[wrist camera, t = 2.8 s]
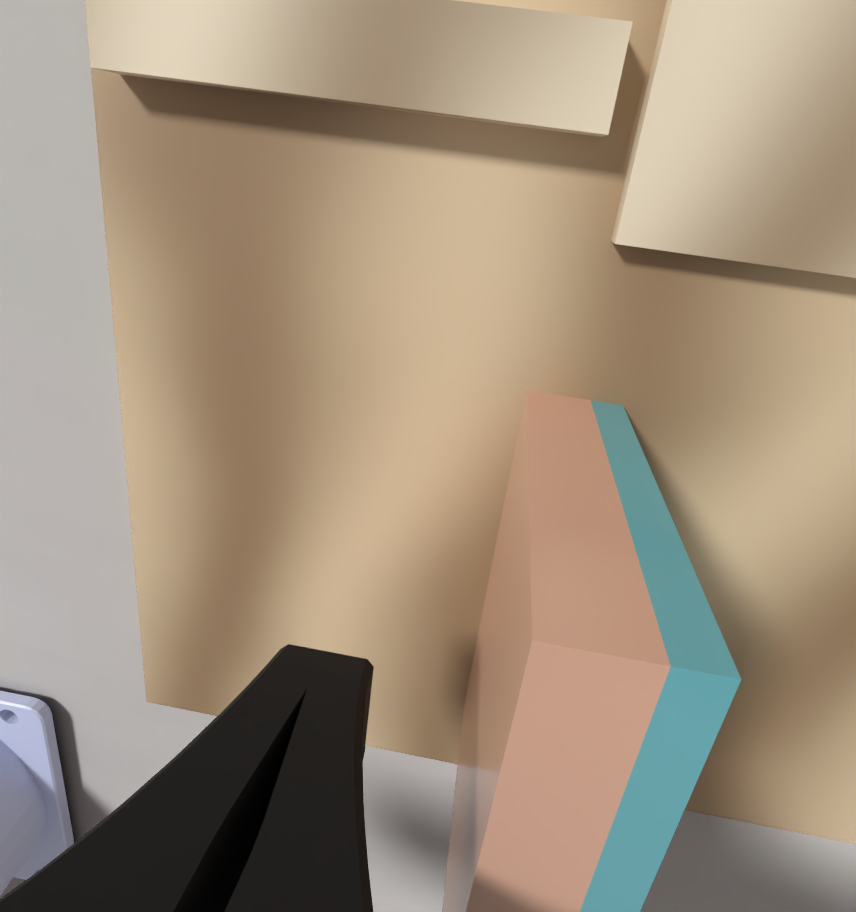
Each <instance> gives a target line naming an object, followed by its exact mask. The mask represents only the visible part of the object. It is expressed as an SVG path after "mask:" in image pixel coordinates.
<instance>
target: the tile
mask: <svg viewBox="0 0 856 912" xmlns="http://www.w3.org/2000/svg"><path fill="white" fill-rule="evenodd" d="M740 682H741V678H740V675H739V673H738V671H737V668H736V666H735V664H734V661H733V659H732V657H731V654H730V652H729V650H728V647H727V645H726V643H725V640H724V638H723V636H722V633H721V631H720V629H719V627H718V624H717V622H716V620H715V617H714V615H713V613H712V610H711V608H710V606H709V603H708V601H707V599H706V596H705V594H704V592H703V589H702V587H701V585H700V582H699V580H698V578H697V576H696V573H695V571H694V569H693V566H692V564H691V562H690V559H689V557H688V555H687V552H686V550H685V548H684V545H683V543H682V541H681V538H680V536H679V534H678V532H677V529H676V527H675V525H674V522H673V520H672V518H671V515H670V513H669V511H668V508H667V506H666V504H665V501H664V499H663V497H662V494H661V492H660V490H659V487H658V485H657V483H656V481H655V478H654V476H653V474H652V471H651V469H650V467H649V464H648V462H647V460H646V457H645V455H644V453H643V450H642V448H641V446H640V443H639V441H638V439H637V437H636V434H635V432H634V430H633V427H632V425H631V423H630V420H629V418H628V416H627V413H626V411H625V409H624V406H623V405H617V404H611V403H605V402H598V401H592V400H586V399H579V398H573V397H567V396H561V395H554V394H548V393H542V392H535V391H529V390H526V393H525V398H524V403H523V408H522V413H521V419H520V424H519V429H518V434H517V439H516V444H515V449H514V454H513V459H512V464H511V469H510V474H509V479H508V484H507V489H506V495H505V500H504V505H503V510H502V515H501V520H500V525H499V530H498V535H497V540H496V545H495V550H494V555H493V560H492V565H491V571H490V576H489V581H488V586H487V591H486V596H485V601H484V606H483V611H482V616H481V621H480V626H479V631H478V636H477V641H476V647H475V652H474V657H473V662H472V667H471V672H470V677H469V682H468V687H467V692H466V697H465V702H464V709H463V719H462V728H461V738H460V747H459V757H458V766H457V775H456V785H455V794H454V804H453V813H452V823H451V832H450V842H449V851H448V860H447V870H446V879H445V889H444V898H443V908H442V912H640V911H641V908H642V906H643V904H644V901H645V899H646V897H647V895H648V892H649V890H650V888H651V885H652V883H653V881H654V878H655V876H656V874H657V872H658V869H659V867H660V865H661V862H662V860H663V858H664V856H665V853H666V851H667V849H668V846H669V844H670V842H671V840H672V837H673V835H674V833H675V830H676V828H677V826H678V824H679V821H680V819H681V817H682V814H683V812H684V810H685V808H686V805H687V803H688V801H689V798H690V796H691V794H692V792H693V789H694V787H695V785H696V782H697V780H698V778H699V775H700V773H701V771H702V769H703V766H704V764H705V762H706V759H707V757H708V755H709V753H710V750H711V748H712V746H713V743H714V741H715V739H716V737H717V734H718V732H719V730H720V727H721V725H722V723H723V721H724V718H725V716H726V714H727V711H728V709H729V707H730V705H731V702H732V700H733V698H734V695H735V693H736V691H737V688H738V686H739V684H740Z"/></svg>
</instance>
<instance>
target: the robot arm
mask: <svg viewBox="0 0 856 912" xmlns="http://www.w3.org/2000/svg"><path fill="white" fill-rule="evenodd" d="M373 669H374V666H373V665H372V664H371V663H370V662H369V660H368V659H365V658H359V657H354V656H349V655H344V654H338V653H333V652H328V651H323V650H317V649H312V648H307V647H301V646H296V645H291V644H288V645H286V646H284V647H283V648H281V649H280V650H279V651H278V652H277V654H276V655H275V656H274V657H273V658H272V659H271V660H270V662H269V663H268V664H267V665H266V666H265V667H264V668H263V669H262V670H261V671H260V673H259V674H258V675H257V676H256V677H255V678H254V679H253V680H252V681H251V682H250V683H249V684H248V686H247V687H246V688H245V689H244V690H243V691H242V692H241V693H240V694H239V695H238V696H237V697H236V698H235V699H234V700H233V701H232V702H231V703H230V704H229V705H228V706H227V707H226V708H225V709H224V710H223V711H222V712H221V713H220V714H219V715H218V716H217V717H216V718H215V719H214V720H213V721H212V722H211V723H210V724H209V725H208V726H207V727H206V728H205V729H204V730H203V731H202V732H201V733H200V734H199V735H198V736H197V737H196V738H195V739H194V740H193V741H192V742H190V743H189V744H188V745H187V746H186V747H185V748H184V749H183V750H182V751H181V752H180V753H179V754H178V755H177V756H176V757H175V758H174V759H172V760H171V761H170V762H169V763H168V764H167V765H166V766H165V767H164V768H162V769H161V770H160V771H159V772H158V773H157V774H156V775H154V776H153V777H152V778H151V779H150V780H149V781H148V782H147V783H145V784H144V785H143V786H142V787H141V788H140V789H139V790H137V791H136V792H135V793H134V794H133V795H132V796H131V797H130V798H128V799H127V800H126V801H125V802H124V803H123V804H122V805H120V806H119V807H118V808H117V809H116V810H115V811H113V812H112V813H111V814H110V815H108V816H107V817H106V818H105V819H104V820H102V821H101V822H100V823H99V824H98V825H96V826H95V827H94V828H93V829H91V830H90V831H89V832H88V833H87V834H85V835H84V836H83V837H82V838H80V839H79V840H78V841H77V842H75V843H74V838H73V832H72V827H71V821H70V815H69V809H68V804H67V798H66V792H65V786H64V781H63V775H62V769H61V763H60V758H59V752H58V746H57V741H56V735H55V729H54V723H53V718H52V713H51V710H50V708H49V706H48V705H47V704H46V703H45V702H43V701H42V700H40V699H37V698H35V697H30V696H25V695H20V694H15V693H10V692H5V691H0V896H1V894H2V893H3V892H4V890H5V889H6V887H7V886H8V885H9V883H10V882H11V880H12V879H13V878H19V879H23V880H26V881H24V882H23V883H21V884H20V885H19V886H17V887H16V888H15V889H13V890H12V891H10V892H9V893H8V894H6V895H5V896H3V897H2V898H1V899H0V912H373V906H372V897H371V889H370V880H369V870H368V859H367V847H366V835H365V822H364V805H363V766H362V762H363V757H364V752H365V743H366V734H367V725H368V716H369V706H370V697H371V688H372V679H373Z"/></svg>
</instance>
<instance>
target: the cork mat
mask: <svg viewBox="0 0 856 912" xmlns="http://www.w3.org/2000/svg"><path fill="white" fill-rule="evenodd" d="M454 1H463V2H471V3H480V4H488V5H497V6H505V7H514V8H522V9H531V10H539V11H548V12H556V13H565V14H573V15H582V16H590V17H599V18H607V19H616V20H624V21H633V23H632V28H631V32H630V37H629V42H628V46H627V51H626V55H625V60H624V65H623V69H622V74H621V79H620V83H619V88H618V92H617V97H616V102H615V106H614V111H613V116H612V120H611V125H610V129H609V134H608V135H607V136H604V137H596V136H589V135H581V134H573V133H566V132H558V131H550V130H543V129H535V128H527V127H520V126H512V125H504V124H497V123H489V122H481V121H474V120H466V119H458V118H451V117H443V116H435V115H428V114H420V113H412V112H405V111H397V110H389V109H382V108H374V107H366V106H359V105H351V104H343V103H336V102H328V101H320V100H313V99H305V98H297V97H290V96H282V95H274V94H267V93H259V92H251V91H244V90H236V89H228V88H221V87H213V86H205V85H198V84H190V83H182V82H175V81H167V80H159V79H152V78H144V77H136V76H129V75H121V74H116V73H112V72H108V71H103V70H99V69H95V68H91V73H92V85H93V96H94V107H95V119H96V130H97V142H98V153H99V164H100V176H101V187H102V199H103V210H104V221H105V233H106V244H107V256H108V267H109V279H110V290H111V301H112V313H113V324H114V336H115V347H116V358H117V370H118V381H119V393H120V404H121V415H122V427H123V438H124V450H125V461H126V472H127V484H128V495H129V507H130V518H131V530H132V541H133V552H134V564H135V575H136V587H137V598H138V609H139V621H140V632H141V644H142V655H143V666H144V678H145V689H146V701H147V702H151V703H155V704H160V705H165V706H170V707H175V708H180V709H185V710H190V711H195V712H200V713H205V714H210V715H215V716H218V715H219V714H220V713H221V712H222V711H223V710H224V709H225V708H226V707H227V706H228V705H229V704H230V703H231V702H232V701H233V700H234V699H235V698H236V697H237V696H238V695H239V694H240V693H241V692H242V691H243V690H244V689H245V688H246V687H247V686H248V684H249V683H250V682H251V681H252V680H253V679H254V678H255V677H256V676H257V675H258V674H259V673H260V671H261V670H262V669H263V668H264V667H265V666H266V665H267V664H268V663H269V662H270V660H271V659H272V658H273V657H274V656H275V655H276V654H277V652H278V651H279V650H280V649H281V648H283V647H284V646H286V645H288V644H291V645H296V646H301V647H307V648H312V649H317V650H323V651H328V652H333V653H338V654H344V655H349V656H354V657H359V658H365V659H368V660H369V662H370V663H371V664H372V665H373V666H374V669H373V679H372V688H371V697H370V706H369V716H368V725H367V734H366V743H365V746H370V747H375V748H380V749H385V750H390V751H395V752H400V753H405V754H410V755H415V756H420V757H425V758H430V759H435V760H440V761H445V762H450V763H455V764H458V757H459V747H460V738H461V728H462V719H463V709H464V702H465V697H466V692H467V687H468V682H469V677H470V672H471V667H472V662H473V657H474V652H475V647H476V641H477V636H478V631H479V626H480V621H481V616H482V611H483V606H484V601H485V596H486V591H487V586H488V581H489V576H490V571H491V565H492V560H493V555H494V550H495V545H496V540H497V535H498V530H499V525H500V520H501V515H502V510H503V505H504V500H505V495H506V489H507V484H508V479H509V474H510V469H511V464H512V459H513V454H514V449H515V444H516V439H517V434H518V429H519V424H520V419H521V413H522V408H523V403H524V398H525V393H526V390H529V391H535V392H542V393H548V394H554V395H561V396H567V397H573V398H579V399H586V400H592V401H598V402H605V403H611V404H617V405H623V406H624V409H625V411H626V413H627V416H628V418H629V420H630V423H631V425H632V427H633V430H634V432H635V434H636V437H637V439H638V441H639V443H640V446H641V448H642V450H643V453H644V455H645V457H646V460H647V462H648V464H649V467H650V469H651V471H652V474H653V476H654V478H655V481H656V483H657V485H658V487H659V490H660V492H661V494H662V497H663V499H664V501H665V504H666V506H667V508H668V511H669V513H670V515H671V518H672V520H673V522H674V525H675V527H676V529H677V532H678V534H679V536H680V538H681V541H682V543H683V545H684V548H685V550H686V552H687V555H688V557H689V559H690V562H691V564H692V566H693V569H694V571H695V573H696V576H697V578H698V580H699V582H700V585H701V587H702V589H703V592H704V594H705V596H706V599H707V601H708V603H709V606H710V608H711V610H712V613H713V615H714V617H715V620H716V622H717V624H718V627H719V629H720V631H721V633H722V636H723V638H724V640H725V643H726V645H727V647H728V650H729V652H730V654H731V657H732V659H733V661H734V664H735V666H736V668H737V671H738V673H739V675H740V678H741V682H740V684H739V686H738V688H737V691H736V693H735V695H734V698H733V700H732V702H731V705H730V707H729V709H728V711H727V714H726V716H725V718H724V721H723V723H722V725H721V727H720V730H719V732H718V734H717V737H716V739H715V741H714V743H713V746H712V748H711V750H710V753H709V755H708V757H707V759H706V762H705V764H704V766H703V769H702V771H701V773H700V775H699V778H698V780H697V782H696V785H695V787H694V789H693V792H692V794H691V796H690V798H689V801H688V803H687V805H686V808H685V810H689V811H694V812H699V813H704V814H709V815H714V816H719V817H724V818H729V819H734V820H739V821H744V822H749V823H754V824H759V825H764V826H769V827H774V828H779V829H784V830H789V831H794V832H799V833H804V834H809V835H814V836H819V837H824V838H829V839H834V840H839V841H844V842H849V843H854V844H856V278H852V277H845V276H838V275H831V274H824V273H817V272H810V271H803V270H796V269H789V268H782V267H775V266H768V265H760V264H753V263H746V262H739V261H732V260H725V259H718V258H711V257H704V256H697V255H690V254H683V253H676V252H669V251H662V250H655V249H647V248H640V247H633V246H626V245H619V244H614V243H613V242H612V241H611V238H612V234H613V229H614V225H615V221H616V216H617V212H618V208H619V203H620V199H621V195H622V191H623V186H624V182H625V178H626V173H627V169H628V165H629V160H630V156H631V152H632V148H633V143H634V139H635V135H636V130H637V126H638V122H639V117H640V113H641V109H642V105H643V100H644V96H645V92H646V87H647V83H648V79H649V74H650V70H651V66H652V62H653V57H654V53H655V49H656V44H657V40H658V36H659V31H660V27H661V23H662V19H663V14H664V10H665V6H666V1H667V0H454Z"/></svg>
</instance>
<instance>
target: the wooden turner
mask: <svg viewBox="0 0 856 912" xmlns="http://www.w3.org/2000/svg"><path fill="white" fill-rule="evenodd" d="M85 11H86V22H87V33H88V45H89V56H90V67H91V68H95V69H99V70H103V71H108V72H112V73H116V74H121V75H129V76H136V77H144V78H152V79H159V80H167V81H175V82H182V83H190V84H198V85H205V86H213V87H221V88H228V89H236V90H244V91H251V92H259V93H267V94H274V95H282V96H290V97H297V98H305V99H313V100H320V101H328V102H336V103H343V104H351V105H359V106H366V107H374V108H382V109H389V110H397V111H405V112H412V113H420V114H428V115H435V116H443V117H451V118H458V119H466V120H474V121H481V122H489V123H497V124H504V125H512V126H520V127H527V128H535V129H543V130H550V131H558V132H566V133H573V134H581V135H589V136H596V137H604V136H607V135H608V134H609V129H610V125H611V120H612V116H613V111H614V106H615V102H616V97H617V92H618V88H619V83H620V79H621V74H622V69H623V65H624V60H625V55H626V51H627V46H628V42H629V37H630V32H631V28H632V23H633V21H624V20H616V19H607V18H599V17H590V16H582V15H573V14H565V13H556V12H548V11H539V10H531V9H522V8H514V7H505V6H497V5H488V4H480V3H471V2H463V1H454V0H85ZM611 241H612V242H613V243H614V244H619V245H626V246H633V247H640V248H647V249H655V250H662V251H669V252H676V253H683V254H690V255H697V256H704V257H711V258H718V259H725V260H732V261H739V262H746V263H753V264H760V265H768V266H775V267H782V268H789V269H796V270H803V271H810V272H817V273H824V274H831V275H838V276H845V277H852V278H856V0H667V1H666V6H665V10H664V14H663V19H662V23H661V27H660V31H659V36H658V40H657V44H656V49H655V53H654V57H653V62H652V66H651V70H650V74H649V79H648V83H647V87H646V92H645V96H644V100H643V105H642V109H641V113H640V117H639V122H638V126H637V130H636V135H635V139H634V143H633V148H632V152H631V156H630V160H629V165H628V169H627V173H626V178H625V182H624V186H623V191H622V195H621V199H620V203H619V208H618V212H617V216H616V221H615V225H614V229H613V234H612V238H611Z"/></svg>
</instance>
